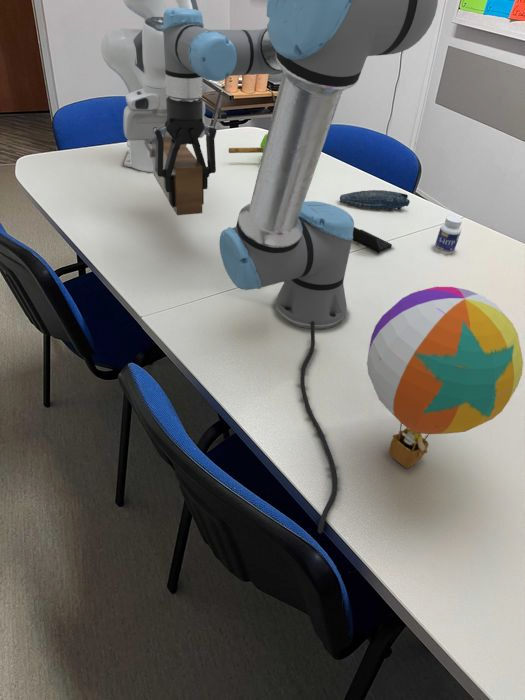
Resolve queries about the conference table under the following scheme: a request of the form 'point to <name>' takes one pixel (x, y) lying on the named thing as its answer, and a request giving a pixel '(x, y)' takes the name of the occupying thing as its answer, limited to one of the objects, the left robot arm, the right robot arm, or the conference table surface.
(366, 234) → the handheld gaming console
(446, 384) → the toy
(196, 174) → the box
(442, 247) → the pill bottle
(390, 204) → the fish model
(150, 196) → the conference table surface
